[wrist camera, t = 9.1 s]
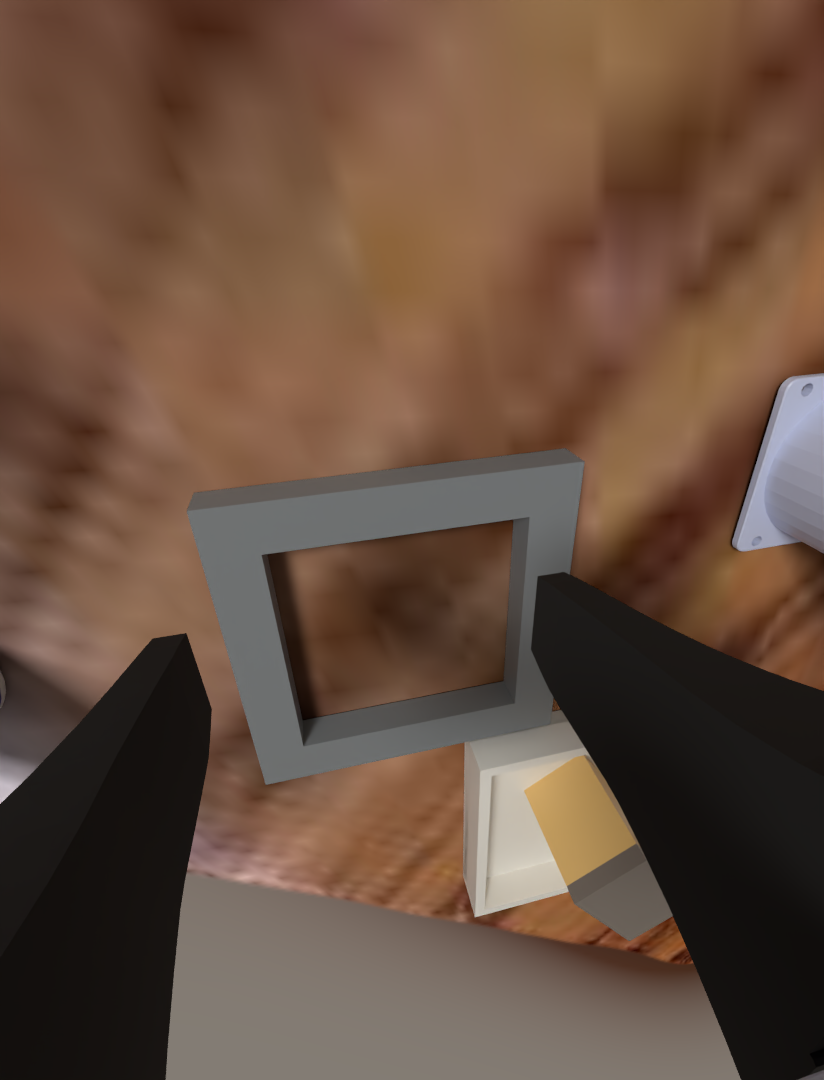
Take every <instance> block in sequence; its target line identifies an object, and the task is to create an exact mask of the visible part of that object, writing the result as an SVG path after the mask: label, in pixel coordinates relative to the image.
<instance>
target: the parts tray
mask: <svg viewBox="0 0 824 1080" xmlns="http://www.w3.org/2000/svg"><path fill="white" fill-rule="evenodd" d="M583 755H585V756H586V757H587V758H588V759H589V760H590V761H591V762H592V763H593V764H594V765H595V767H596V768H597V766H596V764H595V763H594V761H593V760H592V758H591V756H590V755H589V753H588V752H587V750H586V748H585V747H584V745H583V744H582V742H581V741H580V739H579V737H578V736H577V734H576V733H575V731H574V729H573V728H572V726H571V725H570V723H569V721H568V720H567V718H566V717H565V715H564V713H563V712H562V710H558V711H553V712H552V713H551V721H550V724H548V725H543V726H539V727H534V728H529V729H524V730H520V731H515V732H510V733H506V734H501V735H496V736H492V737H487V738H482V739H478V740H473V741H468V742H465V760H464V841H463V877H464V880H465V884H466V887H467V891H468V894H469V898H470V901H471V905H472V908H473V912H474V915H475V917H478V916H481V915H485V914H489V913H492V912H496V911H500V910H503V909H507V908H511V907H514V906H518V905H522V904H525V903H529V902H533V901H536V900H540V899H544V898H547V897H551V896H555V895H558V894H562V893H566V892H569V891H568V888H567V886H566V884H565V882H564V879H563V877H562V875H561V873H560V870H559V868H558V866H557V864H556V861H555V859H554V857H553V855H552V852H551V850H550V848H549V846H548V843H547V841H546V839H545V837H544V835H543V832H542V830H541V828H540V826H539V823H538V821H537V819H536V817H535V814H534V812H533V810H532V808H531V805H530V803H529V801H528V799H527V796H526V794H525V792H524V790H525V789H527V788H528V787H530V786H532V785H533V784H535V783H536V782H538V781H539V780H541V779H542V778H544V777H545V776H547V775H548V774H550V773H551V772H553V771H554V770H556V769H557V768H559V767H560V766H562V765H564V764H565V763H567V762H568V761H570V760H571V759H573V758H574V757H579V756H583ZM597 769H598V768H597ZM598 770H599V769H598Z"/></svg>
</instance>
